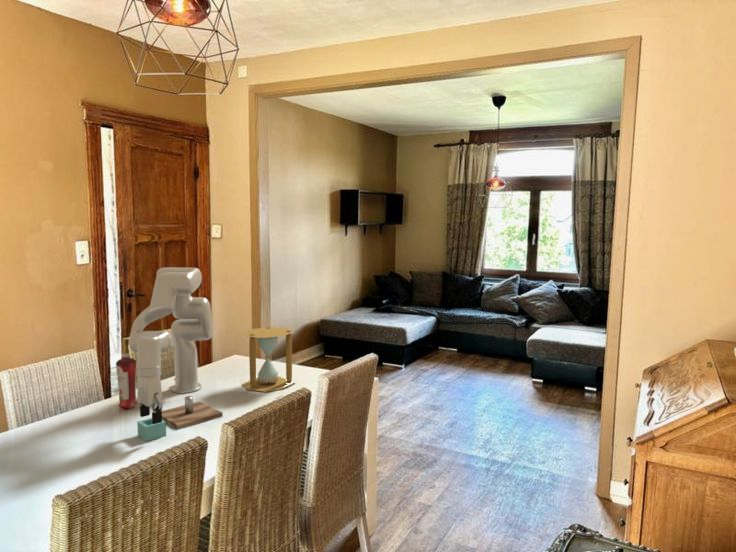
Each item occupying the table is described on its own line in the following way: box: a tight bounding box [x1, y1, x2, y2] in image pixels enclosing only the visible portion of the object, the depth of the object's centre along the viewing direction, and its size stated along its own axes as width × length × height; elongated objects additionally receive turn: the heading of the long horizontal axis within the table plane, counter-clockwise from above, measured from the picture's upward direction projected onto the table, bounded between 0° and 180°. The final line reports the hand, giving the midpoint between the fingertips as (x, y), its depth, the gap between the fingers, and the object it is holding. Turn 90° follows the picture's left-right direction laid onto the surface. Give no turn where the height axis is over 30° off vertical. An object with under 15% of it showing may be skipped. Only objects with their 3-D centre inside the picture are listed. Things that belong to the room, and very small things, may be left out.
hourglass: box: [241, 326, 295, 393], centre depth 242 cm, size 24×22×25 cm
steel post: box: [184, 395, 194, 414], centre depth 203 cm, size 3×3×6 cm
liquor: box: [115, 338, 138, 411], centre depth 211 cm, size 7×7×28 cm
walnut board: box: [162, 401, 224, 430], centre depth 203 cm, size 18×18×2 cm
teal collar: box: [137, 417, 167, 442], centre depth 184 cm, size 7×7×5 cm
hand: (151, 419), depth 184 cm, fingers open, 9 cm apart
